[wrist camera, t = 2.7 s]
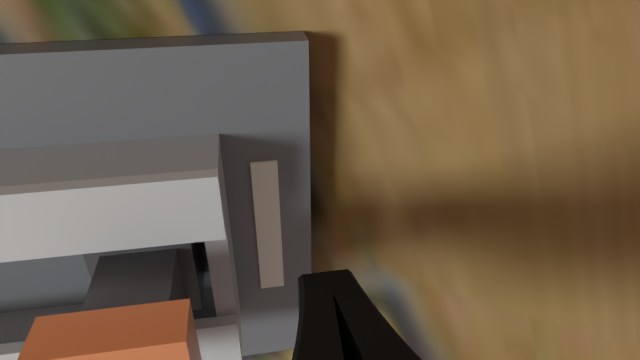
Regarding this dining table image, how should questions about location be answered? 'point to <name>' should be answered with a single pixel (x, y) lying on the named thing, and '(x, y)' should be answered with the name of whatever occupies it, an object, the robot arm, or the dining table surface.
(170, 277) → the toggle
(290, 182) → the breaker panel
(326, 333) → the robot arm
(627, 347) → the dining table surface
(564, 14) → the dining table surface
